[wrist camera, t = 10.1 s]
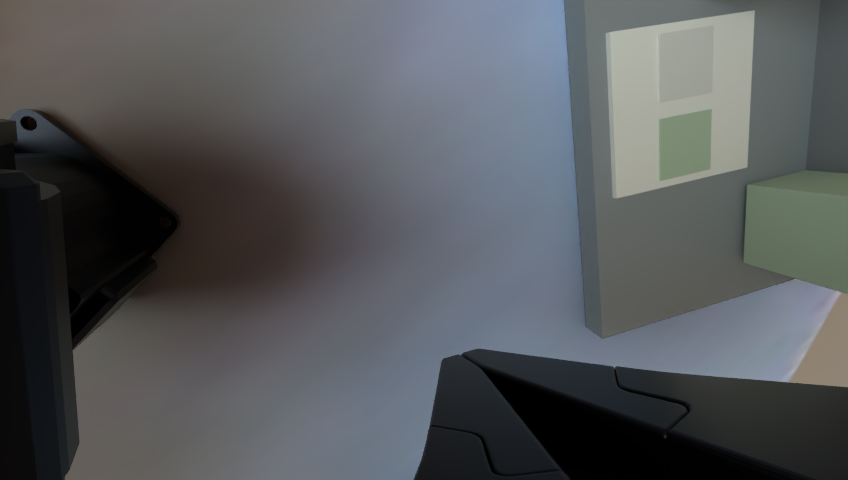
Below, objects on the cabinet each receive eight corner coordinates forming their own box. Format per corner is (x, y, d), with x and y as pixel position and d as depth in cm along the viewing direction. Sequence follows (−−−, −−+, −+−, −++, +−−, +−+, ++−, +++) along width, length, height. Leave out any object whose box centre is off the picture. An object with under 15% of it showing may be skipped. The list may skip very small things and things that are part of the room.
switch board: (586, 326, 25) (642, 367, 20) (554, -151, 18) (627, -237, 14) (789, 265, 28) (876, 289, 23) (824, -165, 21) (952, -240, 17)
